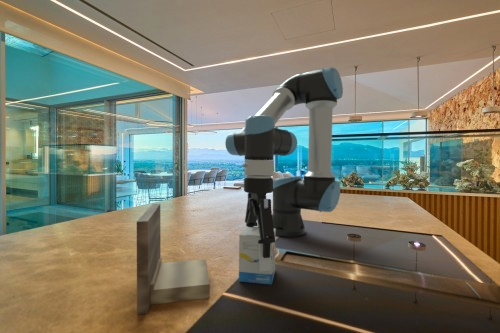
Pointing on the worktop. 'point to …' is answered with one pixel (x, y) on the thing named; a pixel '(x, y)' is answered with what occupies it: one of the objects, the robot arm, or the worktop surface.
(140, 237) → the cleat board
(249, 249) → the ink box
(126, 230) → the worktop surface
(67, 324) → the worktop surface
